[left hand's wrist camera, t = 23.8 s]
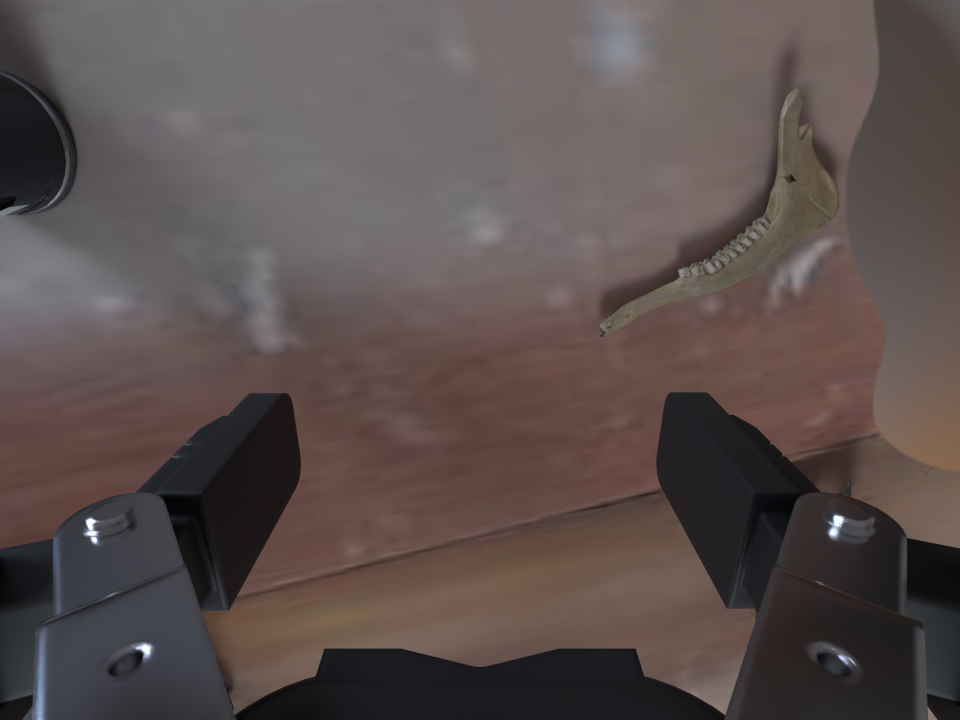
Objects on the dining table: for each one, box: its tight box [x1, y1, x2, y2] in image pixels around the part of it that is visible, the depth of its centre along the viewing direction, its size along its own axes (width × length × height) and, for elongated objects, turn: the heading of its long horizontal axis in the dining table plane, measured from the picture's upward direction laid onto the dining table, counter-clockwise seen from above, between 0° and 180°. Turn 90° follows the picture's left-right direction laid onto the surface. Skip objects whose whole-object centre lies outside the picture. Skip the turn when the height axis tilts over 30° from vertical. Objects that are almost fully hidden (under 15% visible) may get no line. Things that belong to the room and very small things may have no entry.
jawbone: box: [599, 87, 839, 337], centre depth 38 cm, size 9×20×2 cm, turn 147°
